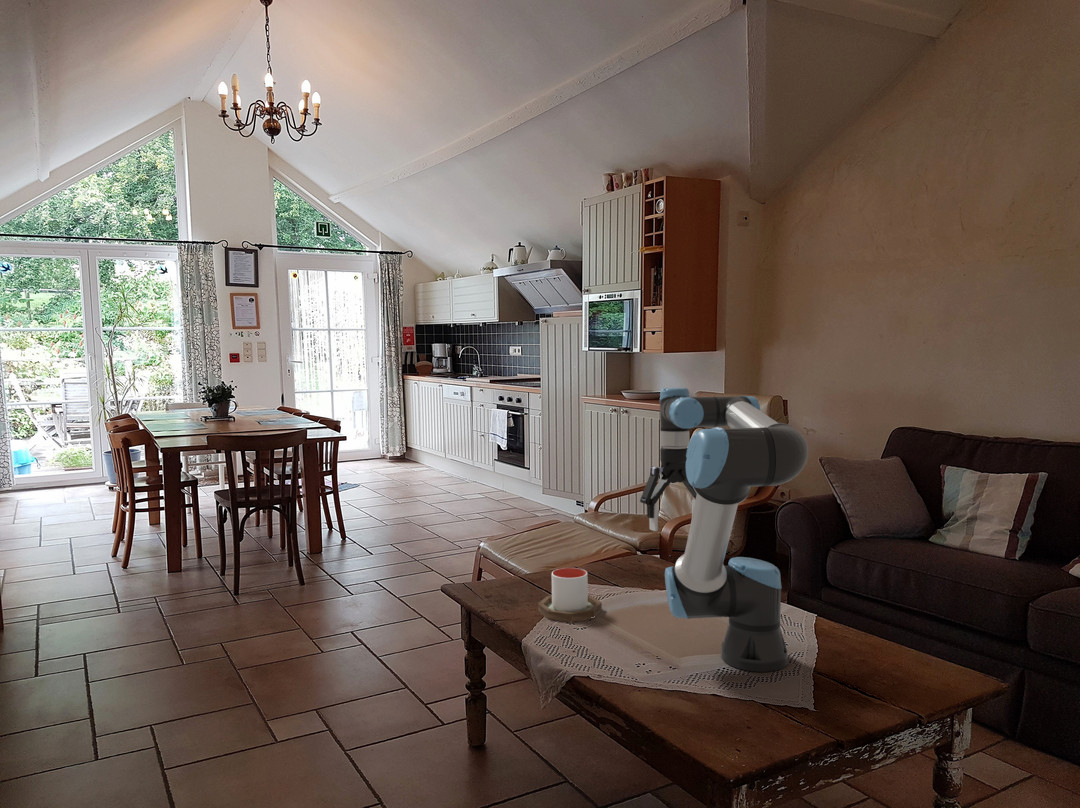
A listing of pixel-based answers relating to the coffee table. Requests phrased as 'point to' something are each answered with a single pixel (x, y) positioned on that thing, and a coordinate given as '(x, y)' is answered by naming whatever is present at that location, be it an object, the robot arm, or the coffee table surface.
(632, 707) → the coffee table surface
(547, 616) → the tray
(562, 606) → the cup
